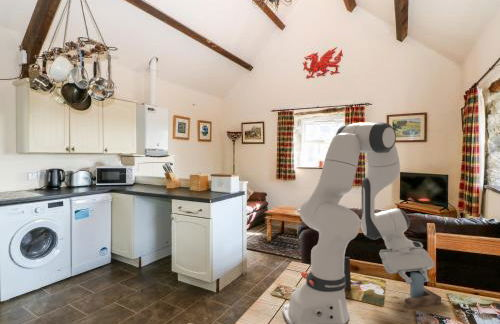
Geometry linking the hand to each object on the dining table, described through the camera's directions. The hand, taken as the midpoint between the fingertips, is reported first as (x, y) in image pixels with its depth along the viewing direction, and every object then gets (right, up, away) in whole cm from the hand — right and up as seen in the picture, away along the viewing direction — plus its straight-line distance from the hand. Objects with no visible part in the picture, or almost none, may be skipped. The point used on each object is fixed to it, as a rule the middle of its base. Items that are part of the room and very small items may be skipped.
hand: (418, 282), depth 103 cm
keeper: (0, -6, +1) cm, 6 cm away
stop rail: (-2, -6, -1) cm, 7 cm away
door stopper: (-25, -7, +12) cm, 29 cm away
